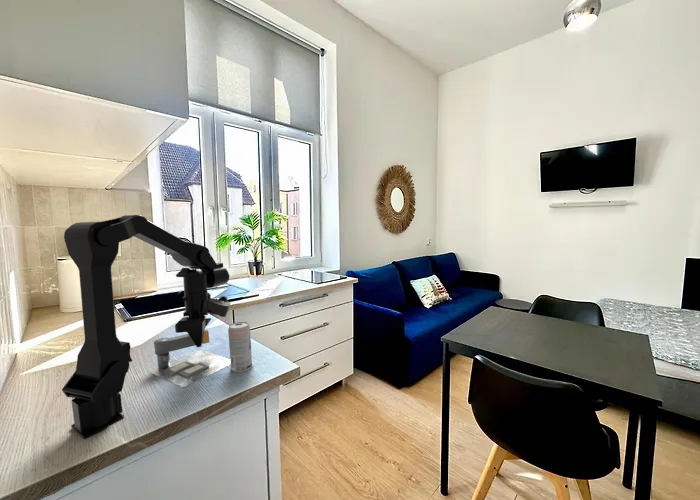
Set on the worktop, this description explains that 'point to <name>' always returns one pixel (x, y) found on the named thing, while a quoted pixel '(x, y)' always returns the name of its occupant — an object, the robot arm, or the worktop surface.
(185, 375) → the label tile
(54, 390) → the worktop surface
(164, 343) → the swing arm
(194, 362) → the plate
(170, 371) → the label tile
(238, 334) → the energy drink
